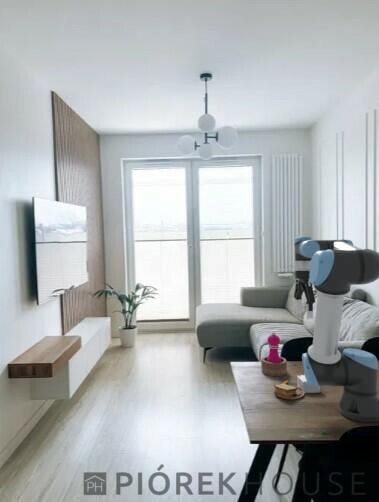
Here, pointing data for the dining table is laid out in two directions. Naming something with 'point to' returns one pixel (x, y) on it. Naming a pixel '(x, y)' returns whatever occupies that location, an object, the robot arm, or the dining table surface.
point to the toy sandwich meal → (288, 391)
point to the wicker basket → (274, 367)
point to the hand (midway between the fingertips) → (304, 315)
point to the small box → (306, 385)
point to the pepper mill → (273, 348)
